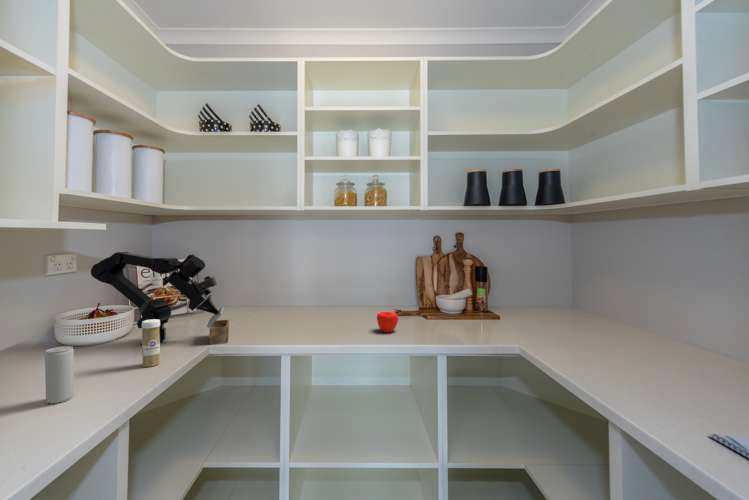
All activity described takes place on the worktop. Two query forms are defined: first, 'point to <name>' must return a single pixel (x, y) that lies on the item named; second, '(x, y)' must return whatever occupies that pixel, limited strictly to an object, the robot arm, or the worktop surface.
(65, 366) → the beverage can
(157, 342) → the sprinkles bottle
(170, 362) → the worktop surface
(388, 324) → the apple
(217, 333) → the walnut box
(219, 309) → the box lid
